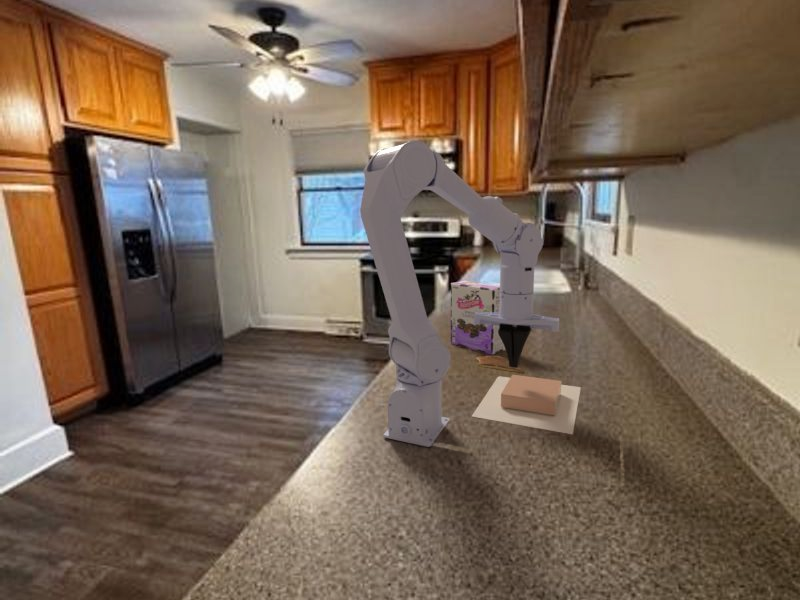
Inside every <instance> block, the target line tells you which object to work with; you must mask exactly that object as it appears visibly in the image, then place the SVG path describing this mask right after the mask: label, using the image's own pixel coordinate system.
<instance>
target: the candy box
mask: <svg viewBox="0 0 800 600" xmlns="http://www.w3.org/2000/svg"><path fill="white" fill-rule="evenodd" d="M499 305H500V284H499V285H498V284H490V283H482V282H476V281H475V282H474V281H469V280H466V279H465V280H460V281H456V282H451V283H450V344H451V345H455V346H458V347H463V348H465V349H470V350H473V351H477V352H480V353H485V354H487V355H490V356H494V355H495V354H498V353H501V352H504V351H505V352H506V349H505V347H504V344H503V342H502V340H501V338H500V336H499V334H498V330H499V325H487V324H480V325H476V324H474V314H475V313H477V312H499Z"/></svg>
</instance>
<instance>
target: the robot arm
mask: <svg viewBox="0 0 800 600" xmlns="http://www.w3.org/2000/svg"><path fill="white" fill-rule="evenodd" d="M363 174H364V179H365V180H364V185H363V186H364V187H363V191H362V197H361V203H360V211H359V212H360V218H361V221H362V225H363V227H364V230H365V235H366V239H367V242H368V245H369V248H370V251H371V255H372V258H373V261H374V265H375V268H376V272H377V275H378V278H379V282H380V285H381V287H382V289H381V290H382V292H383V294H384V299H385V303H386V306H387V309H388V312H389V316H390V319H391V321H392V324H391V325H390V326H389V328H388V329H387V333H388V336H389V345H388V355H389V358H390V360H391V361H392V362H393V363H394V364H395V371H396V372H395V373H396V377H395V378H396V384H395V388H394V389H393V391H392V392H391V394H390V395H389V397H388V401H387V415H388V417H387V422H388V429H387V430H386V431H385V432H384V433H383V437H384V438H385V439H390V440H395V441H400V442H404V443H408V444H413V445H418V446H421V447H427V448H429V447H432V446H433V444H434V443H435V442H436V439H437V437H438V436H439V435H440V433H441V432H442V430H443V429H444V428H445V427H446V425H447V424H448V423H449V421H450V420H451V418H449V417H445V416H442V413H443V412H442V410H443V409H442V404H443V403H442V402H443V401H442V398H443V397H442V394H443V393H442V392H443V391H442V388H443V387H442V384H443V383H442V381H443V380H444V376H445V375H446V374H447V373H448V371H449V369H450V366H451V361H452V357H451V351H450V350H449V348H448V347H447V346H446V344H445V343H443V341H442V339H441V336H440V332H439V331H438V329H437V328H436V326H435V325H434V323H432V321H431V319H429V317H428V315H427V311H426V308H425V304H424V299H423V297H422V293H421V289H420V287H419V282H418V278H417V275H416V270H415V268H414V264H413V260H412V255H411V252H410V249H409V245H408V241H407V237H406V234H405V230H404V226H403V222H402V219H401V217H402V215H403V213H404V212H405V210H406V208H407V207H408V205H409V203H410V202H411V201H412V200H413V199H414V198H415V197H416V196H418V194H420V193H421V192H422V191H431V192H433V193H435V194H436V195H438V196H439V197H441V198H443V199H444V200H445V201H447V202H448V203H450V204H452V205H453V206H455V207H456V208H458V209H459V210H460V211H461V212H463V213H465V214H466V215H467V218H468V224H469V226H471V228H473V229H474V230H476V231H477V232H478V233H479V234H481V235H482V236H484V237H485V238H487V239H488V240H489V241H491V242H492V244H493V247H494V250H495V251H496V253H499V254H500V263H499V264H500V266H499V267H500V268H499V269H500V273H499V286H500V305H499V312H477V313H475V314H474V324H476V325H480V324H487V325H499V330H498V334H499V336H500V338H501V340H502V342H503V344H504V347H505V352H506V356H507V359H508V360H509V367H515V368H517V367H518V368H519V366H520V360H521V356H522V354H523V353H522V352H523V349H524V346H525V344H526V342H527V340H528V338H529V335H530V334H531V332H532V330H533V329H534V330H545V331H551V332H554V333H555V332H559V330H560V318H557V317H551V316H549V317H548V316H543V315H538V314H533V313H534V311H533V310H534V287H535V286H534V285H535V267H536V266H537V264H538V258H539V254H540V252H541V250H542V249H543V247H544V246H543V245H544V238H542V233H541V230H540V229H539V228H538V227H537V225H536V224H534V223H531V222H524V221H523V220H522V219H521V215H519V214H518V213H514V212H512V211H511V210H510V209H509V208H507V206H505V205H504V204H503V199H502V198H500V197H499V196H492V195H486V196H483V197H482V196H481V195H480V194H478V192H477V191H475V190H474V188H472V187H471V186H470V185H469V184H468V183H467V182H465V181H464V180H463V178H461V177H460V176H459V175H458V174H457V173H456V172H455V171H454V170H452V168H451V167H449V166H448V165H447V164H446V163H445V162H444V159H443V156H442V155H441V154H440V153H438V152H437V151H434V150H432V149H431V147H430V146H429V145H427V144H426V143H425V142H423V141H421V140H409V141H406V142H405V143H402V144H399V145H396V146H393V147H388V148H381V149H379V150H378V151H376V152H375V153H373V155H372V157H371V158H370V159H369V161H368V163H367V164H366V166H365V167H364V169H363Z"/></svg>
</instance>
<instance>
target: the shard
mask: <svg viewBox="0 0 800 600" xmlns="http://www.w3.org/2000/svg"><path fill="white" fill-rule="evenodd" d="M475 359H476V360H477V361H478V363H479V364H478V366H479V367H481V368H482V367H483V368H489V369H496V370H502V371H508V372H513V373H514V372H515V373H522V374H523V373H524V372H525V371H524V370H523V369H521V368H520V367H519V366H518V367H517V368H515V367H509V360H508V358H506V357H504V356H499V355H484V356H483V355H482V356H477V357H476V358H475Z"/></svg>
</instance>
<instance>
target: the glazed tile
mask: <svg viewBox="0 0 800 600" xmlns="http://www.w3.org/2000/svg"><path fill="white" fill-rule="evenodd" d="M509 378H510V380H509V381H508V383H507V385H506V386H505V388H504V390H503V391H502V393H501V407H505V408H509V409H516V410H522V411H528V412H534V413H540V414H546V415H552V416H555V414H556V410H557V407H558V403H559V399H560V396H561V385H562V383H563V382H562V381H563V380H556V379H548V378H540V377H534V376H533V377H532V376H525V375H519V374H517V375H516V374H512V375H511V376H510V377H509Z"/></svg>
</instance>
